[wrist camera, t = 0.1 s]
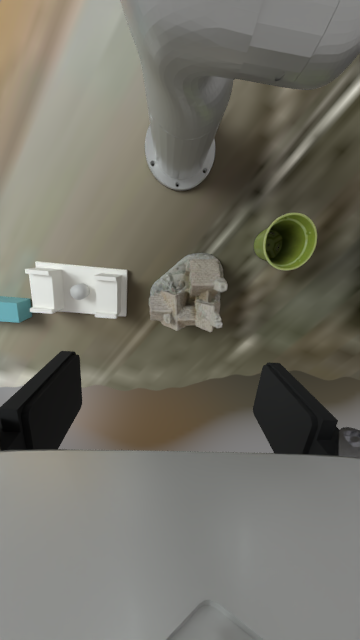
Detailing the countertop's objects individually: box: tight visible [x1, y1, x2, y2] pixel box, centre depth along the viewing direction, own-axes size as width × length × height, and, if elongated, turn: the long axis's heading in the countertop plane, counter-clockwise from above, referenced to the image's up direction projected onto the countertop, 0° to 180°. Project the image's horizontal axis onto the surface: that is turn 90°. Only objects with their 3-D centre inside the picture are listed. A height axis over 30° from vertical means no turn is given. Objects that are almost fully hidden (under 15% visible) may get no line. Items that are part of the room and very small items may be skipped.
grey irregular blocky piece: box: [149, 253, 228, 332], centre depth 40 cm, size 16×16×15 cm
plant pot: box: [254, 213, 317, 270], centre depth 40 cm, size 9×9×9 cm
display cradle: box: [25, 261, 128, 319], centre depth 42 cm, size 10×18×6 cm, turn 84°
